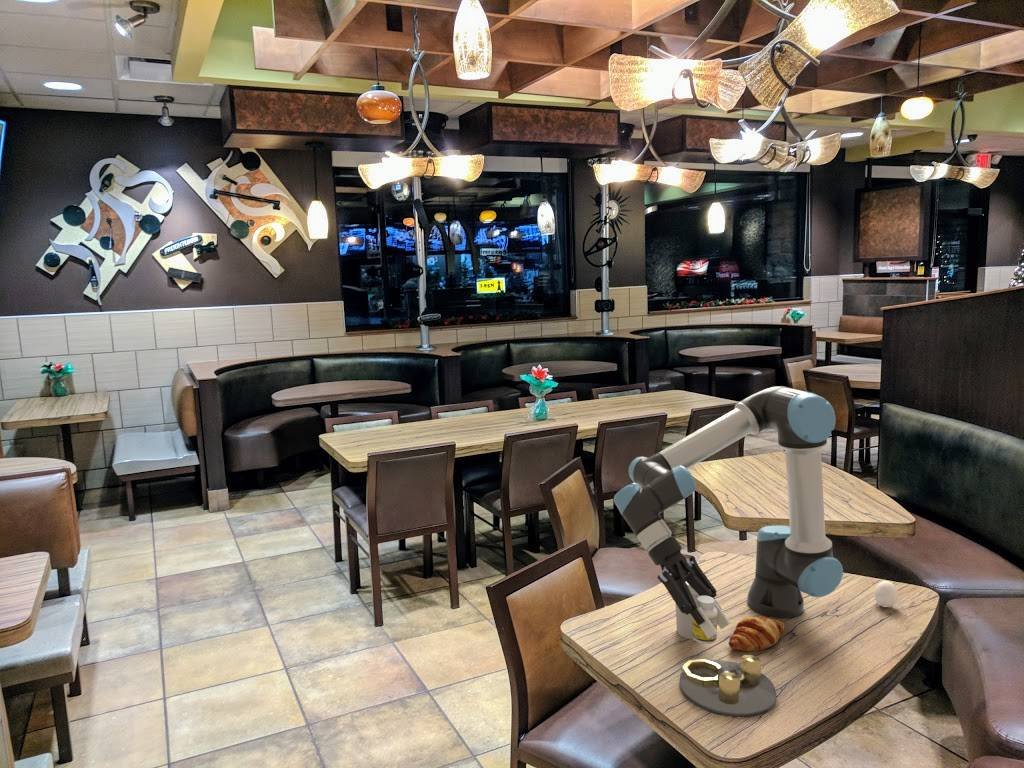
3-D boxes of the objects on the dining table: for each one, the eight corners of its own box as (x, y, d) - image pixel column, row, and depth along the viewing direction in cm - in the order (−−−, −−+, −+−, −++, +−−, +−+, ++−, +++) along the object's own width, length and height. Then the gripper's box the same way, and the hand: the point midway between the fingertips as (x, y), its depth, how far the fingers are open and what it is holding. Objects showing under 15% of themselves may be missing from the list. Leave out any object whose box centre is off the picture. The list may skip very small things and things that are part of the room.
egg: (868, 603, 214) (870, 578, 213) (886, 601, 216) (888, 576, 215) (883, 612, 209) (885, 586, 207) (901, 610, 210) (904, 584, 209)
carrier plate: (750, 663, 181) (752, 638, 180) (793, 714, 161) (795, 686, 160) (667, 668, 179) (668, 643, 178) (699, 720, 158) (700, 692, 157)
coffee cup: (709, 643, 191) (711, 588, 188) (671, 639, 193) (673, 585, 190) (707, 626, 200) (709, 573, 198) (670, 623, 202) (672, 570, 200)
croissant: (771, 638, 201) (761, 608, 203) (802, 635, 193) (791, 604, 195) (721, 660, 188) (711, 628, 190) (752, 658, 181) (741, 624, 183)
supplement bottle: (688, 633, 175) (690, 594, 173) (711, 633, 175) (713, 593, 174) (696, 645, 169) (698, 604, 168) (719, 644, 170) (722, 603, 168)
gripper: (670, 541, 187) (727, 624, 178) (628, 561, 173) (687, 652, 165) (690, 526, 182) (749, 610, 174) (648, 545, 169) (710, 638, 160)
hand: (719, 630), depth 169 cm, fingers closed on supplement bottle, 5 cm apart
